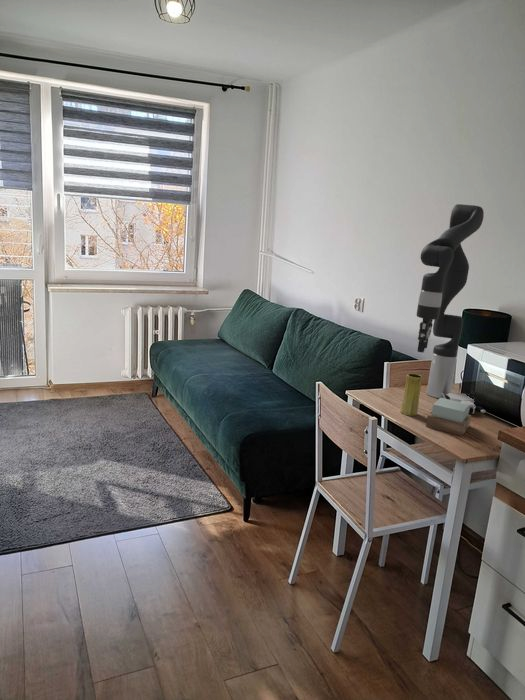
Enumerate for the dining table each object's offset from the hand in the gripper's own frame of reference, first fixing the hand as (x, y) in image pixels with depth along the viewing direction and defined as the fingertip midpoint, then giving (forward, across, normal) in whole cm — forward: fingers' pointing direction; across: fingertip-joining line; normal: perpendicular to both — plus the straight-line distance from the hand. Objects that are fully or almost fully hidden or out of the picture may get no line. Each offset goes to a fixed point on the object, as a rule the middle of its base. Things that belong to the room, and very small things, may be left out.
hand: (422, 349), depth 195 cm
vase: (+24, 0, +1) cm, 24 cm away
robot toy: (+24, +18, -16) cm, 35 cm away
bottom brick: (+24, -5, -13) cm, 28 cm away
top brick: (+20, -5, -13) cm, 24 cm away
